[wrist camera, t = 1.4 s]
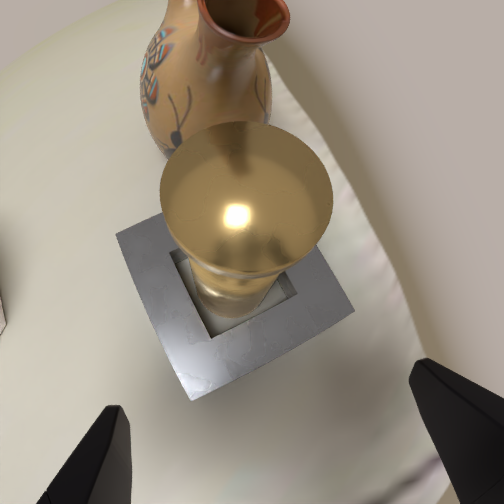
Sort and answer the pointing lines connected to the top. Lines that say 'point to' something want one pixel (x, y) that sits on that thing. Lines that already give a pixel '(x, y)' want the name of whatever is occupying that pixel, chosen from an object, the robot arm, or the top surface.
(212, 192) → the brass goblet
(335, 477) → the top surface
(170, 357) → the grey square flat frame
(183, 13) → the ceramic vessel
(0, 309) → the jar
